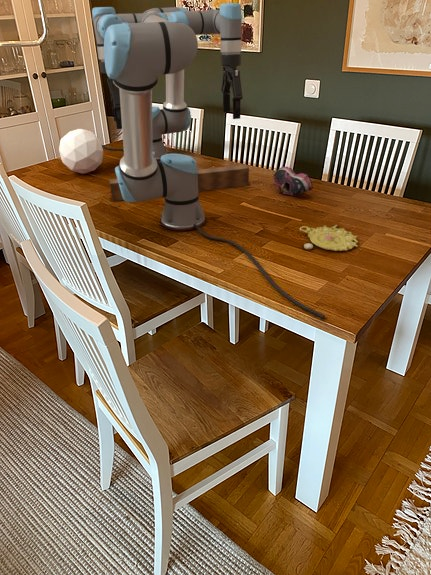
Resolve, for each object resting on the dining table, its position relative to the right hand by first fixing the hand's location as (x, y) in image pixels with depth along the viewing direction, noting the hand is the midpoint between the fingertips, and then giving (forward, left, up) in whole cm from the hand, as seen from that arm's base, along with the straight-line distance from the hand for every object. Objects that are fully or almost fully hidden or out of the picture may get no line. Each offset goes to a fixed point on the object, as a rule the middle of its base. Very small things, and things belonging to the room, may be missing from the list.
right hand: (119, 124), depth 163 cm
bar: (+2, -21, -28) cm, 35 cm away
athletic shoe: (-9, -63, -28) cm, 70 cm away
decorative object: (-52, -64, -28) cm, 87 cm away
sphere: (+38, +21, -28) cm, 52 cm away
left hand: (+4, -43, 0) cm, 43 cm away
